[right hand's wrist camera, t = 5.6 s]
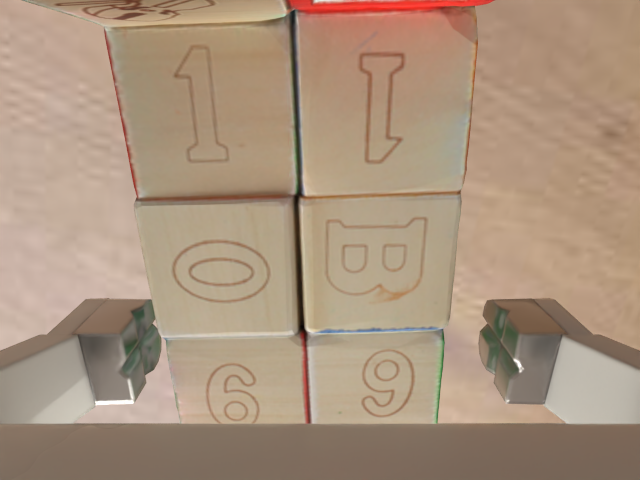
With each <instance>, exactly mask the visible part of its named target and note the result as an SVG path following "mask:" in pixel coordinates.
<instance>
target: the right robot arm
mask: <svg viewBox="0 0 640 480" xmlns="http://www.w3.org/2000/svg"><path fill="white" fill-rule="evenodd" d="M483 317H484V318H485V320H486V322H487V323H488V324H487V325H486V326H485V327H484V328H483V329H482V330H481V331H480V335H479V354H480V357H481V361H482V363H483V365H484V367H485V369H486V370H487V371H489V372H491V373H492V374H494V375H495V378H494V384H495V386H496V387H497V389H498V391H499V392H500V394H501V396H502V398H503V399H504V401H505V403H506V404H543V405H544V406H545V407H546V408H547V409H549V410H550V411H551V412H553V413H554V414H555V415H557V416H558V417H559V418H561V419H562V420H563V421H565V422H566V423H565V424H73V423H74V422H75V421H77V420H78V419H79V418H81V417H82V416H83V415H85V414H86V413H87V412H89V411H90V410H91V409H93V408H94V407H95V405H97V404H132V403H135V401H136V399H137V398H138V396H139V394H140V393H141V391H142V389H143V387H144V386H145V384H146V378H145V375H146V374H148V373H149V372H151V371H153V370H154V369H155V367H156V365H157V363H158V361H159V357H160V353H161V336H160V334H159V333H158V329H157V328H156V327H155V326H154V325H153V324H152V323H153V322H154V320H155V313H154V308H153V303H152V300H151V299H109V298H100V299H86V300H85V301H83V302H82V303H81V304H80V305H79V306H78V307H77V308H76V309H75V310H73V311H72V312H71V313H70V314H69V315H68V316H67V317H66V318H65V319H64V320H62V321H61V322H60V323H59V324H58V325H57V326H56V327H55V328H54V329H53V330H51V331H50V332H49V333H48V334H47V335H38V336H36V337H33V338H31V339H28V340H26V341H23V342H21V343H18V344H16V345H13V346H11V347H8V348H6V349H4V350H1V351H0V480H640V351H639V350H636V349H634V348H631V347H629V346H627V345H624V344H622V343H619V342H617V341H614V340H612V339H609V338H607V337H604V336H602V335H593V334H592V333H591V332H590V331H589V330H588V329H586V328H585V327H584V326H583V325H582V324H581V323H580V322H579V321H578V320H577V319H575V318H574V317H573V316H572V315H571V314H570V313H569V312H568V311H567V310H566V309H564V308H563V307H562V306H561V305H560V304H559V303H558V302H557V301H556V300H554V299H550V298H542V299H498V300H487V302H486V304H485V306H484V311H483Z"/></svg>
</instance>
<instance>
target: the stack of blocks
mask: <svg viewBox="0 0 640 480" xmlns="http://www.w3.org/2000/svg"><path fill="white" fill-rule="evenodd" d="M23 1H26V2H29V3H33V4H36V5H39V6H42V7H46V8H49V9H52V10H56V11H59V12H62V13H65V14H68V15H72V16H75V17H78V18H81V19H84V20H87V21H90V22H93V23H96V24H99V25H102V26H104V32H105V39H106V44H107V50H108V54H109V59H110V64H111V69H112V75H113V80H114V85H115V90H116V95H117V100H118V105H119V110H120V116H121V121H122V126H123V131H124V136H125V141H126V146H127V152H128V157H129V162H130V168H131V173H132V178H133V183H134V188H135V191H136V195H137V198H136V201H135V203H134V211H135V216H136V222H137V227H138V232H139V237H140V242H141V247H142V252H143V257H144V263H145V268H146V273H147V278H148V283H149V288H150V293H151V298H152V303H153V308H154V313H155V318H156V323H157V328H158V333H159V334H160V336H161V337H162V338H164V339H165V340H166V346H167V356H168V362H169V368H170V373H171V378H172V383H173V387H174V393H175V399H176V406H177V409H178V412H179V420H180V424H437V421H438V409H439V399H440V387H441V377H442V369H443V358H444V333H443V328H445V327H446V326H448V323H449V318H450V311H451V299H452V290H453V282H454V273H455V261H456V250H457V238H458V229H459V222H460V214H461V202H462V201H461V193H460V192H461V189H462V186H463V184H464V179H465V174H466V170H467V155H468V147H469V137H470V127H471V115H472V101H473V89H474V78H475V67H476V57H477V46H478V34H477V16H476V11H475V6H477V5H483V4H488V3H490V2H492V1H494V0H23Z"/></svg>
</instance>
